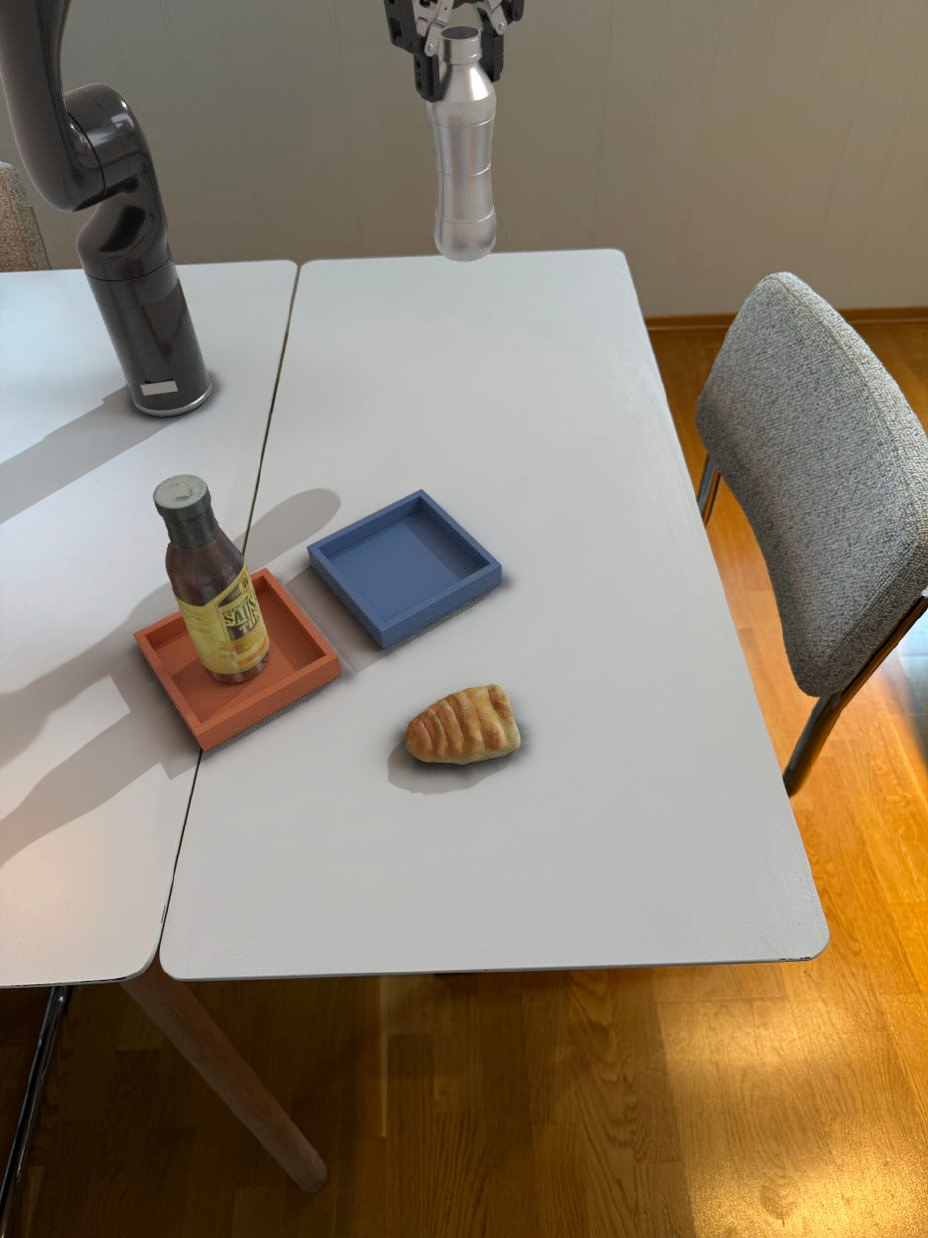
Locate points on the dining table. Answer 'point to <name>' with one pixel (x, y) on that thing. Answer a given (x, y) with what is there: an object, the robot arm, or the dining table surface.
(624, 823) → the dining table surface
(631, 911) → the dining table surface
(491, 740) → the pastry
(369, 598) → the blue tray
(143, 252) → the robot arm
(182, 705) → the terracotta tray
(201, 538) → the sauce bottle
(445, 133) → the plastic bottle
